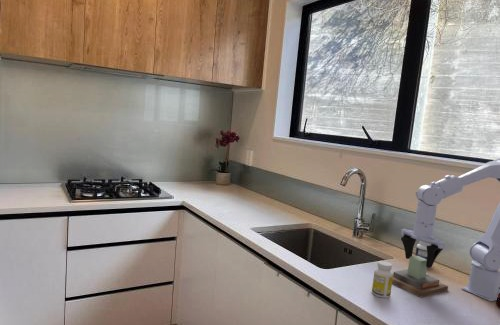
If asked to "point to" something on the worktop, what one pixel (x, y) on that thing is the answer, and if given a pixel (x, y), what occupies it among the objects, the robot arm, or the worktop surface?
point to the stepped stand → (418, 284)
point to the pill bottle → (422, 249)
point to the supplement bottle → (382, 280)
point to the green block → (417, 267)
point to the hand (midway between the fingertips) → (418, 262)
